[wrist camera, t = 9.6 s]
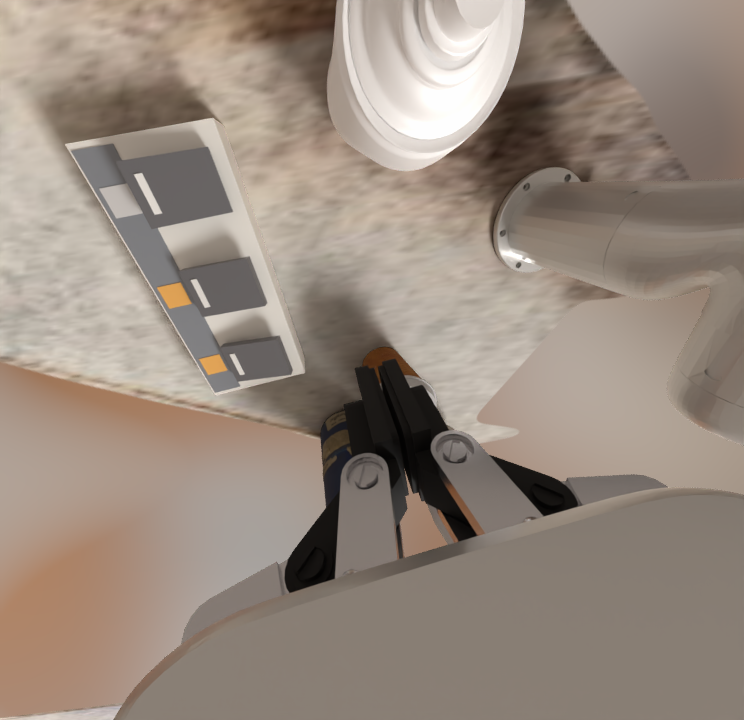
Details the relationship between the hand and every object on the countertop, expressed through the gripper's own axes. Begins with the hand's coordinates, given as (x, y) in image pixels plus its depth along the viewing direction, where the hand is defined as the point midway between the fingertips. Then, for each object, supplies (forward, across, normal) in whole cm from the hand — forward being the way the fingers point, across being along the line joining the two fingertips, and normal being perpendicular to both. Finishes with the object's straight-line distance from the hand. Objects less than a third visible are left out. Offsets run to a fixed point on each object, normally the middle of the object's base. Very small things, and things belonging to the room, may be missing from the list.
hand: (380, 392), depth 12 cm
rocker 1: (+23, +12, -9) cm, 27 cm away
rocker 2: (+23, +12, +9) cm, 27 cm away
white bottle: (+29, -7, -13) cm, 32 cm away
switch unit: (+28, +13, 0) cm, 31 cm away
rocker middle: (+23, +12, 0) cm, 26 cm away
